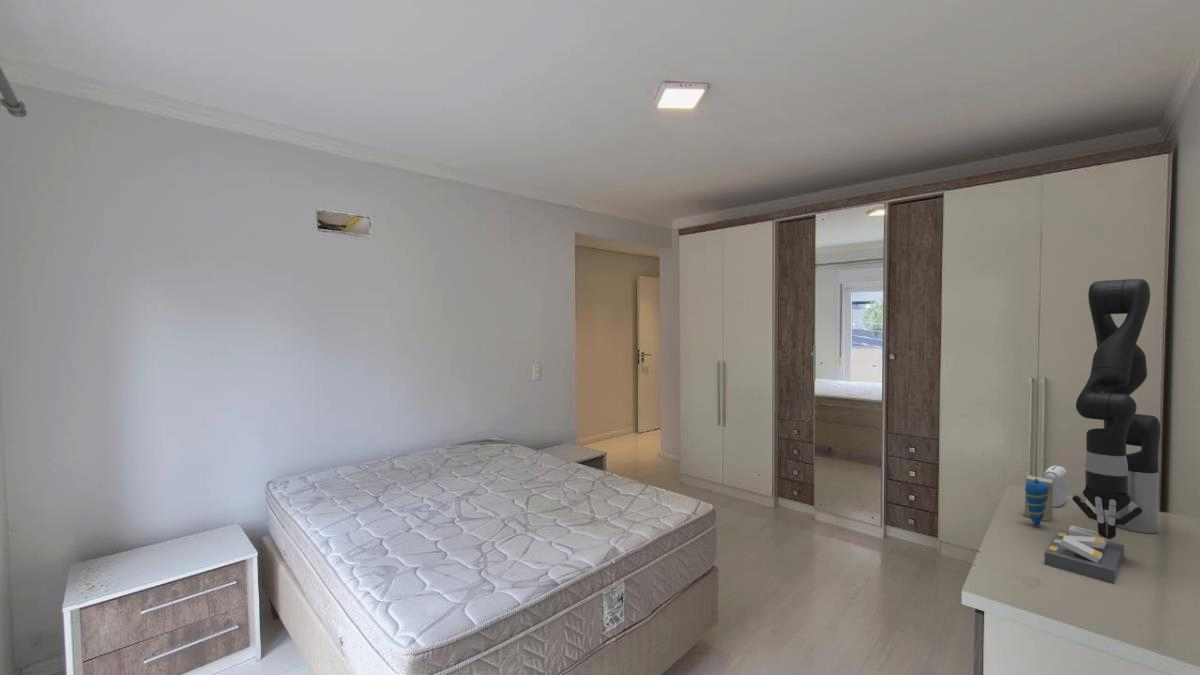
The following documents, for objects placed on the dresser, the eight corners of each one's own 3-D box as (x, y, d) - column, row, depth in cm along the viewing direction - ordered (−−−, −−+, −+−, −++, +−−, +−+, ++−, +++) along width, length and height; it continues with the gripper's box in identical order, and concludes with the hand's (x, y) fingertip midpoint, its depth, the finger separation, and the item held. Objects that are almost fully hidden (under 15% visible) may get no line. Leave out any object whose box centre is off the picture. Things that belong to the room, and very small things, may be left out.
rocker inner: (1071, 530, 130) (1071, 524, 130) (1108, 540, 125) (1109, 534, 125) (1068, 534, 128) (1068, 528, 128) (1106, 544, 122) (1106, 539, 122)
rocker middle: (1068, 540, 126) (1066, 534, 127) (1106, 543, 121) (1103, 536, 121) (1065, 545, 124) (1063, 539, 124) (1103, 548, 118) (1101, 541, 119)
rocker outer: (1062, 539, 123) (1065, 534, 122) (1099, 558, 118) (1102, 553, 117) (1059, 544, 120) (1062, 539, 120) (1097, 563, 115) (1100, 558, 115)
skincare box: (1024, 516, 150) (1024, 478, 149) (1026, 512, 153) (1026, 474, 152) (1052, 522, 145) (1052, 482, 145) (1053, 518, 148) (1053, 479, 148)
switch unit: (1059, 540, 133) (1059, 527, 133) (1123, 556, 124) (1123, 542, 124) (1044, 564, 121) (1044, 549, 121) (1114, 583, 112) (1114, 567, 112)
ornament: (1048, 526, 143) (1048, 476, 142) (1048, 532, 139) (1048, 480, 138) (1025, 521, 146) (1025, 472, 146) (1024, 527, 142) (1024, 476, 142)
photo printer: (1051, 498, 164) (1051, 462, 164) (1068, 501, 161) (1068, 465, 161) (1041, 504, 159) (1041, 467, 158) (1059, 508, 155) (1059, 470, 155)
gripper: (1146, 473, 120) (1147, 541, 121) (1072, 462, 131) (1073, 525, 131) (1144, 479, 116) (1144, 551, 116) (1067, 467, 126) (1068, 533, 126)
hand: (1106, 537), depth 123 cm, fingers closed
